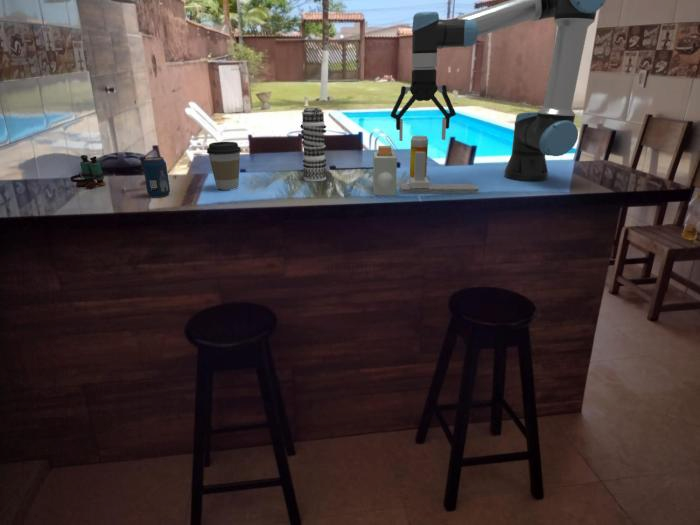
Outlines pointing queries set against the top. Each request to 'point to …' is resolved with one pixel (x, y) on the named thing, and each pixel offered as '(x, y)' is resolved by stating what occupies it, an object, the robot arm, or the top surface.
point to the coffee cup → (225, 164)
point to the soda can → (156, 177)
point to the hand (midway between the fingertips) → (422, 140)
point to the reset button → (384, 150)
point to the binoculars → (89, 173)
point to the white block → (384, 174)
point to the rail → (440, 188)
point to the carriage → (419, 172)
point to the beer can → (418, 146)
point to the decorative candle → (313, 144)
